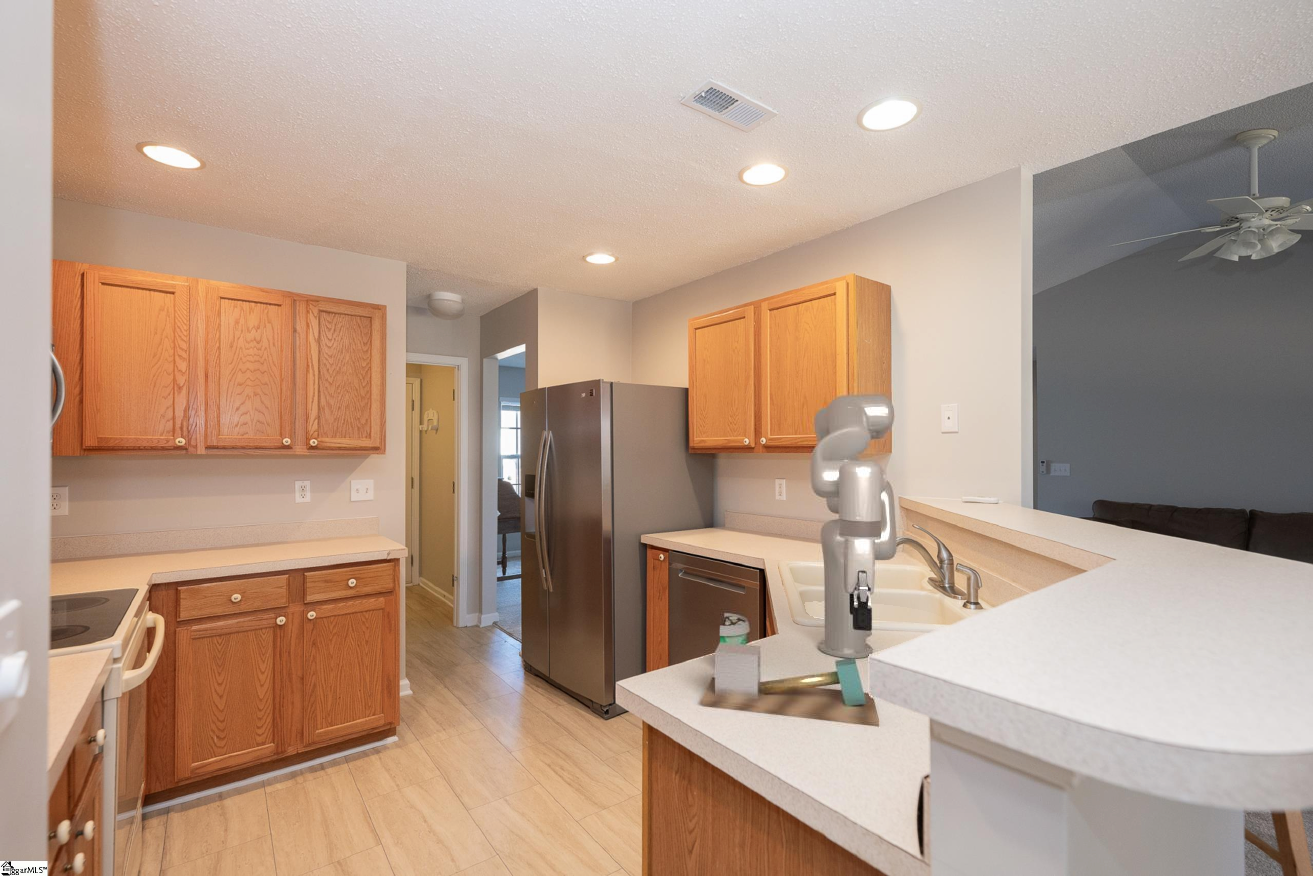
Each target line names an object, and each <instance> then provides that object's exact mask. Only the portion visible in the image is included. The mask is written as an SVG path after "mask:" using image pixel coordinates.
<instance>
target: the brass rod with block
mask: <svg viewBox="0 0 1313 876" xmlns="http://www.w3.org/2000/svg"><path fill="white" fill-rule="evenodd" d="M834 663H835V668H836V670H834V671H828V672H821V673H815V674H807V675H800V676H794V677H793V676H792V677H786V678H779V679H773V680H767V681H766V680H765V681H761V682H762V687H763V692H764V694H770V693H777V692H784V691H791V690H799V689H806V688H813V687H816V688H821V687H826V686H833V685H840V688H841V689H840V690H842V693H843V697H844V701H845V705H846V706H852V705H859V704H866V700H865V696H864V693H865V692H864V689H863V684H862V681H861V677H860V673H859V670H858V665H857V661H856V658H845V659H844V658H843V659H837V660H835V662H834Z"/></svg>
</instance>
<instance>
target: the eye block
mask: <svg viewBox="0 0 1313 876" xmlns="http://www.w3.org/2000/svg"><path fill="white" fill-rule="evenodd" d="M714 655H715V656H714V677H715V694H716V695H725V696H735V697H744V698H753V699H758V695H759V691H760V682H761V645H755V644H754V645H752V644H751V645H750V644H746V645H743V644H732V643H720V642H719V643H718V645H717V648H716V649H715V651H714Z"/></svg>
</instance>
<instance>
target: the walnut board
mask: <svg viewBox="0 0 1313 876" xmlns="http://www.w3.org/2000/svg"><path fill="white" fill-rule="evenodd" d="M762 682H763V681H760V691H759V695H758V699H753V698H744V697H735V696H725V695H716V694H715V676H712V677H711V679H710V681H709V684H708V685H707V687H706V689H705V691H704V693H703V696H702V698H701V706H702V707H708V708H709V707H710V708H717V709H724V710H725V709H728V710H736V711H744V712H752V713H760V714H768V715H769V714H770V715H778V716H786V717H787V716H788V717H796V718H804V719H813V720H821V721H828V722H829V721H831V722H839V723H848V724H855V725H862V726H863V725H864V726H873V727H880V719H879V714H878V709H877V707H876V702H875V699H873V698H874V697H873V698H871V697H870V696H869V694H868V693H869V692H864V696H865V700H866V704H859V705H852V706H846V705H845V701H844V697H843V693H842V689H835V688H834V689H833V688H832V689H831V688H825V687H824V688H823V687H813V688H806V689H799V690H791V691H784V692H777V693H770V694H764V692H763V687H762Z"/></svg>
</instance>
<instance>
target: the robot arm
mask: <svg viewBox="0 0 1313 876" xmlns="http://www.w3.org/2000/svg"><path fill="white" fill-rule="evenodd" d="M894 408H895V407H894V405H893V403H892V400H891V399H890V398H889V397H888V396H885V395H884V394H844V395H840V396H837V397H835V398H834V399H832V400H831V402H830V403H829V405H828V406H827V407H822V408H820V409H819V410H817V411H816V413H815V415H814V421H813V424H814V425H813V426H814V432H815V438H816V440H817V444H816V445H815V447H814V449H813V451H811V452H812V453H811V456H810V484H811V488H812V489H811V490H813V492H814V494H815V495H816V496H818V497H820V498H824V499H825V501H826V506H827V509H828V510H829V511H830V512H831V513H832V514H836V515H838V518H836V519H830V520H828V521H826V522H824V524H822V527H821V529H820V543H821V549H822V557H823V559H822V560H823V569H824V570H823V573H824V577H823V578H824V582H823V583H824V586H823V587H824V639H822V640H820V641H818V643H817V647H818V650H820V651H821V652H822V653H823V654H827V655H830V656H833V657H834V656H835V657H838V658H839V657H840V658H845V659H850V658H855V659H861V658H867V657H869V656H868V655H869V654H871V653H872V654H873V650H874V649H873V647H872V645H870V644H868V643H867V640H866V639H867V638H868V637H871V636H872V634H873V632H872V630H873V608H872V604H871V603H872V601H871V595H873V594H874V592H875V571H876V561H889V560H892V559H893V558H895V556H896V553H897V548H898V542H897V541H898V540H897V538H898V537H897V526H896V525H897V524H896V523H897V521H896V507H895V497H894V489H893V487H892V485H891V483H890V481H888V480H887V472H886V470H885V469H884V468H883V467H882V465H881V464H880V463H879V462H876V461H870V460H869V461H868V460H860V458H859V456H860V455H861V454H863V453H865V451H866V450H867V449H868V448H869V446H870V445H871V440H872V441H873V440H881V439H883V438H884V437H886V435H887V434H888V433H889V432H890V430H891V429H892V428H893V425H894V422H895V409H894ZM872 654H871V655H872Z"/></svg>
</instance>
